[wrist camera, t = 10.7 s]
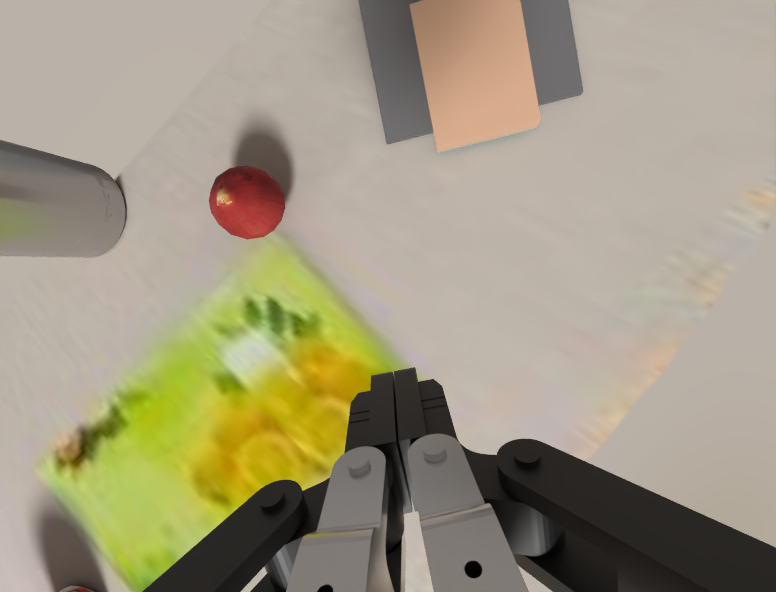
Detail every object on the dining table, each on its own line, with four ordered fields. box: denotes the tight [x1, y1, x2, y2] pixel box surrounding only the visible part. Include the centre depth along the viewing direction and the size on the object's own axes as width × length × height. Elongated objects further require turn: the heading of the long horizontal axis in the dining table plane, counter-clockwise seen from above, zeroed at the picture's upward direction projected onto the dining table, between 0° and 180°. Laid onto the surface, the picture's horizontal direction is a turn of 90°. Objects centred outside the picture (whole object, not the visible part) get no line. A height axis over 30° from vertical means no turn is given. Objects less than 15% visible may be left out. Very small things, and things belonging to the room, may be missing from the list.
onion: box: [209, 166, 285, 239], centre depth 32 cm, size 6×6×8 cm
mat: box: [359, 0, 583, 144], centre depth 32 cm, size 16×12×1 cm
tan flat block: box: [410, 0, 541, 153], centre depth 31 cm, size 8×2×11 cm
